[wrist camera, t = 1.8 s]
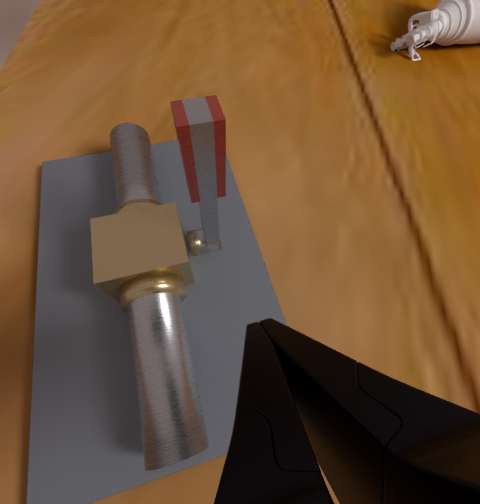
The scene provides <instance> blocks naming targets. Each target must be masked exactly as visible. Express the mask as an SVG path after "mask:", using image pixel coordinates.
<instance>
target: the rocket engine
mask: <svg viewBox="0 0 480 504" xmlns="http://www.w3.org/2000/svg"><path fill="white" fill-rule="evenodd" d="M416 19H417V20H419V24H418V23H417V24H415V25H413V24H412V23H413V21H414V20H416ZM422 25H424V26H422ZM415 26H417V28H416V29H413V27H415ZM419 26H420V27H419ZM396 39H397V40H396ZM396 39H395V40H396V42H394V43H393V42H392V44H391V45H390V49H391V50H392V51H394V50H396V49H397V50H398V51H394V52H399V50H400V49H403V48H402V46H403V47H404V49H405V47H407V48H408V53H409V55H408V57H410V58H411V60H413V61H415V60H420V59H421V58H420V56H419V54H418V53H417V52H416V51H415V49H416V48H418V47H420V46H422V45H423V44H424V43H425V41H427V40H428V41H431V42H430V43H428V44H427V45H425V46H423V48H424V47H426V46H429V45H430V44H432V43H437V44H439V45H442V46H448V45H452V44H475V43H480V0H441V1H440V2H439V3H438V4H437V6H436V7H435V9H434V10H431V11H428V12H422V13H418V14H415V15H413V16H412V17H411V18H410V19H409V21H408V33H407V34H405V36H403V37H402V39H401V37H400V38H396ZM395 40H394V41H395ZM424 40H425V41H424ZM423 41H424V43H423V44H422V45H420V46H418V47H416V45H418V44H420V43H422V42H423ZM414 46H415V49H413V48H414ZM414 55H415V56H416V57H417V58H418V59H413V56H414Z"/></svg>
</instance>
